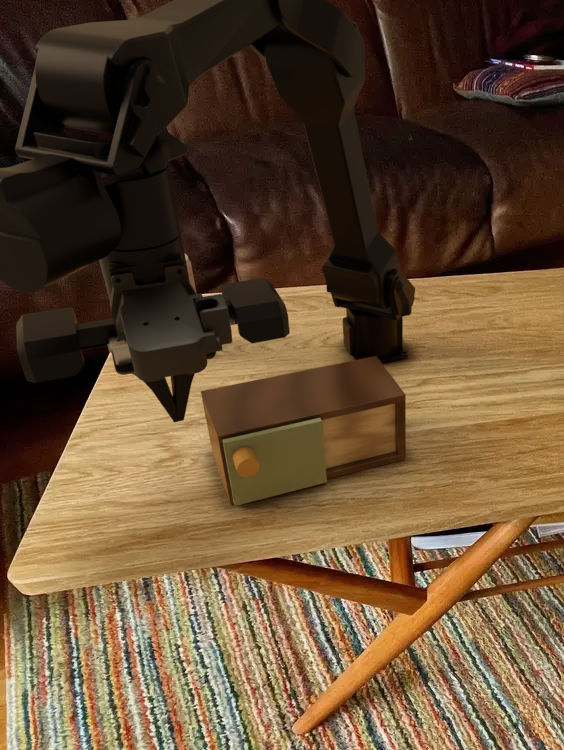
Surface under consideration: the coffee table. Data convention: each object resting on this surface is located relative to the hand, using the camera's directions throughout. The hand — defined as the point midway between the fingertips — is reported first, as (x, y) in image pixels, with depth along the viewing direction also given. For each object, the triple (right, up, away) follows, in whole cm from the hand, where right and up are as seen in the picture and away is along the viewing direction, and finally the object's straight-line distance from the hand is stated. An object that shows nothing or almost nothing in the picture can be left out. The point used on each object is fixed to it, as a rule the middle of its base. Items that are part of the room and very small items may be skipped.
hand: (178, 418), depth 62 cm
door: (+7, -7, +10) cm, 14 cm away
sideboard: (+8, -4, +16) cm, 18 cm away
